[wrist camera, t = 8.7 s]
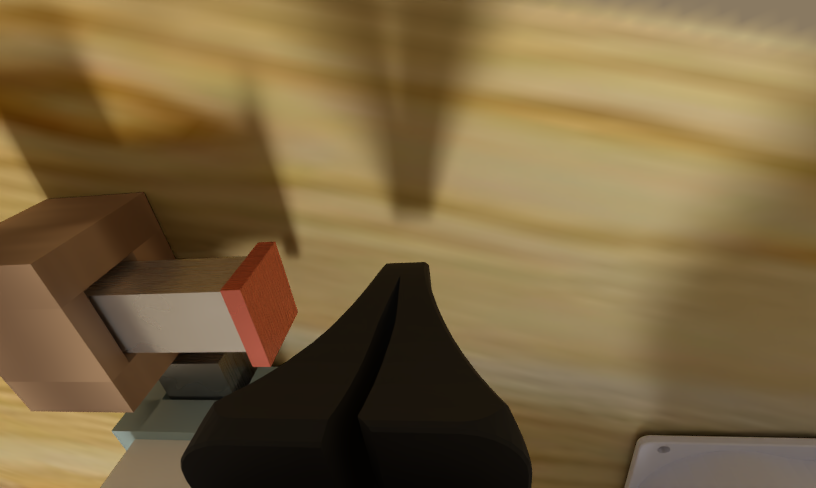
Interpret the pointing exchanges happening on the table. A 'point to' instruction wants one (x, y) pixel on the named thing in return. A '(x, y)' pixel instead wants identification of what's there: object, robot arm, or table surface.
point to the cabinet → (73, 303)
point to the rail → (207, 375)
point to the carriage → (159, 439)
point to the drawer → (199, 305)
